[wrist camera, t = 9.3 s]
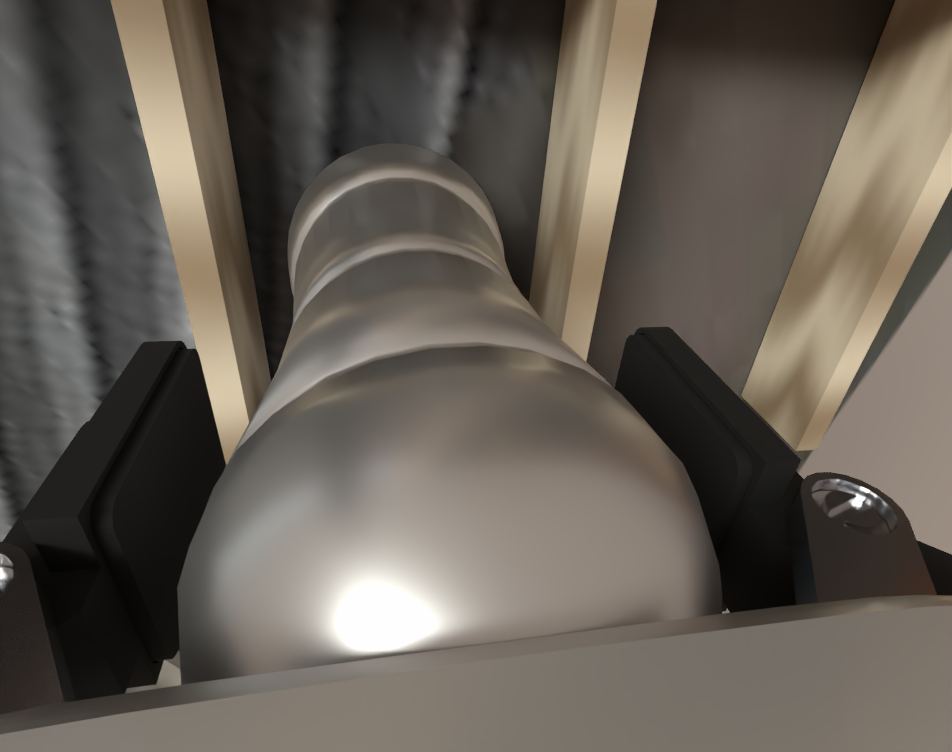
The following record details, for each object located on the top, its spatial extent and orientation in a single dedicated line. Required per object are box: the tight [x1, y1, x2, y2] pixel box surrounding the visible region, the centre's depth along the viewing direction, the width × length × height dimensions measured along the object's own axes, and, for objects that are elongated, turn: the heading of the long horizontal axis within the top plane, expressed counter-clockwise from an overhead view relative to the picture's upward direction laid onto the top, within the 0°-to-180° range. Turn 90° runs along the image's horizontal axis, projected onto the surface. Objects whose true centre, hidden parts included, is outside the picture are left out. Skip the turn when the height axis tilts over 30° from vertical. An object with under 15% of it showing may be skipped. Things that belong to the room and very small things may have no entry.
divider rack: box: [111, 0, 952, 465], centre depth 18 cm, size 18×23×4 cm
